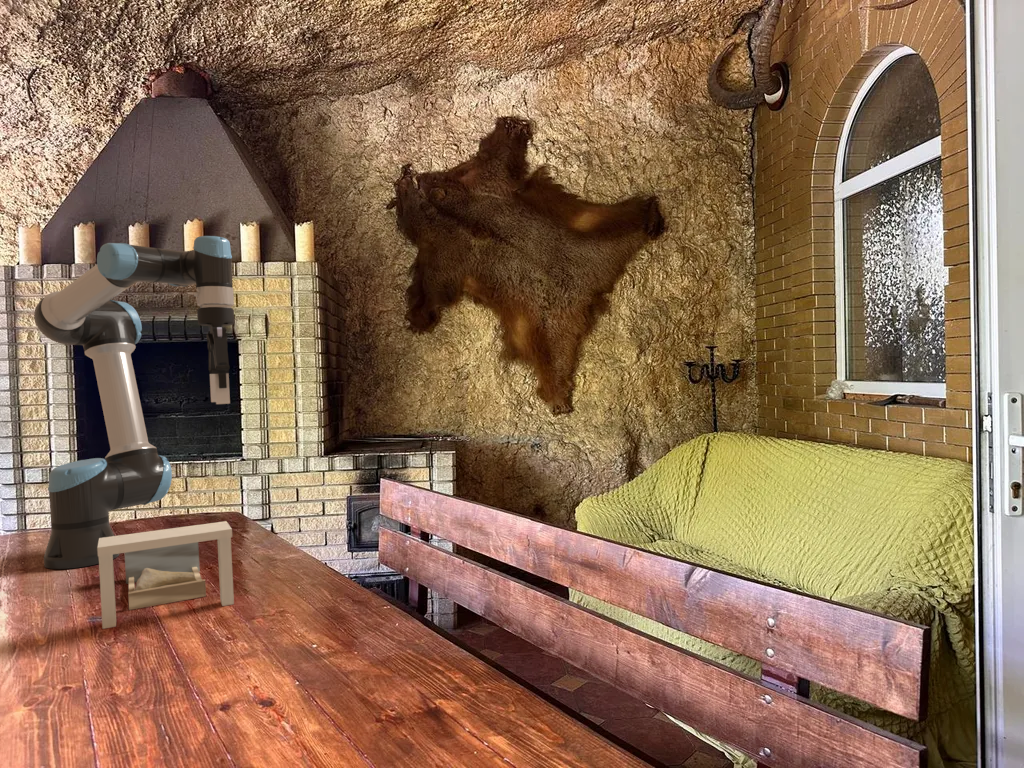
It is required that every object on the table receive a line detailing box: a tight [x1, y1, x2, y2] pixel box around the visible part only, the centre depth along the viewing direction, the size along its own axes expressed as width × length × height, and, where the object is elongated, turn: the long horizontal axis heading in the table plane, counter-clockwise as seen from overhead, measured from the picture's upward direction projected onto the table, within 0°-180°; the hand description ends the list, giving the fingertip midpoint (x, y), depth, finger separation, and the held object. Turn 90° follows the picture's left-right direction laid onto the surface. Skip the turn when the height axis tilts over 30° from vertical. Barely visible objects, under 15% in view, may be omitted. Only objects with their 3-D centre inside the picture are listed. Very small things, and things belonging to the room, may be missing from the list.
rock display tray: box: [124, 542, 207, 611], centre depth 140 cm, size 23×14×9 cm, turn 29°
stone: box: [134, 568, 197, 591], centre depth 137 cm, size 11×6×5 cm, turn 133°
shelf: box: [97, 520, 235, 630], centre depth 124 cm, size 8×21×14 cm, turn 119°
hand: (220, 403), depth 154 cm, fingers open, 13 cm apart
